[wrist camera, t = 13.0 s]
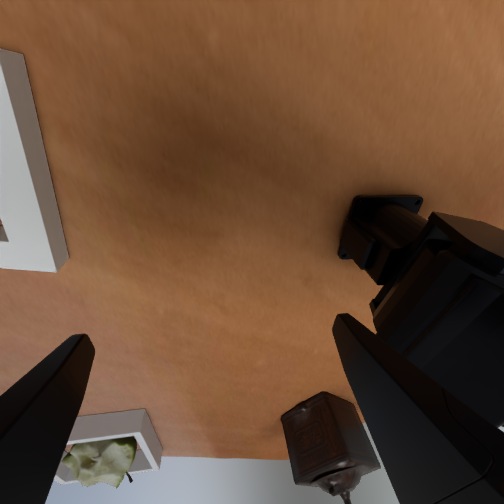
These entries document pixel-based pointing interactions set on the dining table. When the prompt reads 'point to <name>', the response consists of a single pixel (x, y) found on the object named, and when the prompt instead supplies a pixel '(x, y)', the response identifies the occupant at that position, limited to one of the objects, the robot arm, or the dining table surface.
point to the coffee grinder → (328, 445)
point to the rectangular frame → (25, 179)
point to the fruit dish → (116, 428)
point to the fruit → (101, 460)
